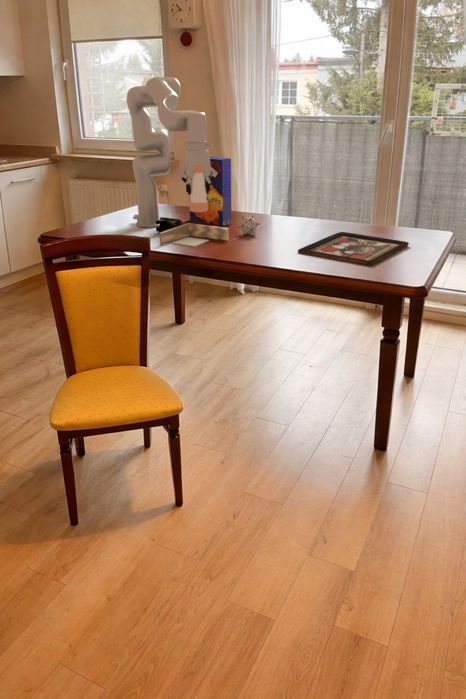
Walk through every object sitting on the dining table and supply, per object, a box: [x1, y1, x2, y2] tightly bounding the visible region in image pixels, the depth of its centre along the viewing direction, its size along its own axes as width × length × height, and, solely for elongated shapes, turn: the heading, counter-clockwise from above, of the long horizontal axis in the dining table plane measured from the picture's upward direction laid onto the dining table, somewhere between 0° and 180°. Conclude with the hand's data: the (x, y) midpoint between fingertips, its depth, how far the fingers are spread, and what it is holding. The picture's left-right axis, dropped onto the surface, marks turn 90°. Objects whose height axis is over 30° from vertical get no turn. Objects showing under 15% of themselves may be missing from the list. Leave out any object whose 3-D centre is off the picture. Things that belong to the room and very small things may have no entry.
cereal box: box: [188, 155, 233, 227], centre depth 276 cm, size 22×6×30 cm, turn 48°
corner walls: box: [159, 222, 230, 246], centre depth 247 cm, size 21×21×5 cm
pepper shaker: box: [189, 165, 208, 212], centre depth 234 cm, size 7×7×19 cm
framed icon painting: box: [297, 231, 410, 267], centre depth 235 cm, size 38×35×3 cm
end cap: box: [155, 216, 184, 236], centre depth 261 cm, size 10×7×7 cm
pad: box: [172, 236, 210, 247], centre depth 248 cm, size 11×11×1 cm
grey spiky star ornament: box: [237, 215, 260, 236], centre depth 258 cm, size 9×8×10 cm
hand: (198, 193), depth 235 cm, fingers closed on pepper shaker, 6 cm apart
